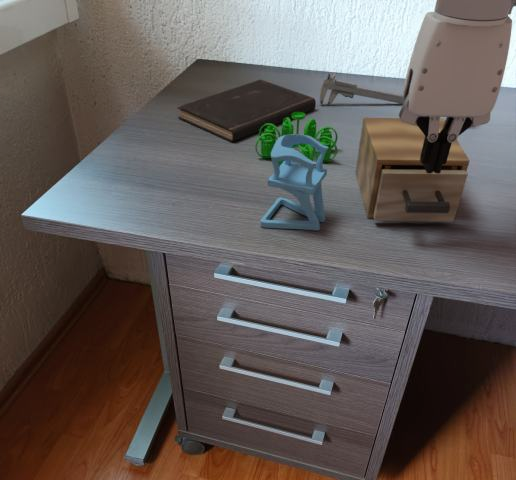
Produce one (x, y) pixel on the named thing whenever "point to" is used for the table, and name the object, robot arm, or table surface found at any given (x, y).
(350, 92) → the caliper
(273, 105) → the hardcover book
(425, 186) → the drawer
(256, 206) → the table surface
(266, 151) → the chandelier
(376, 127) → the cabinet
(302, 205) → the chair
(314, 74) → the table surface
